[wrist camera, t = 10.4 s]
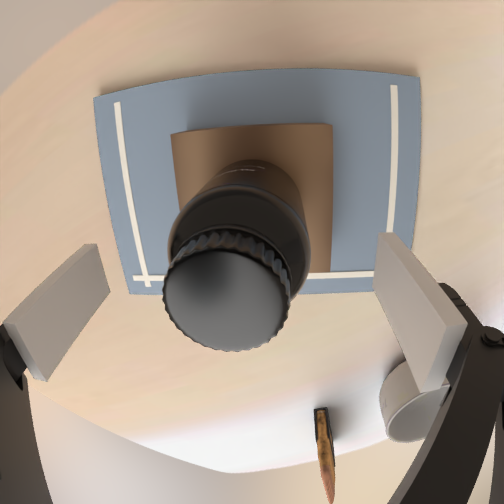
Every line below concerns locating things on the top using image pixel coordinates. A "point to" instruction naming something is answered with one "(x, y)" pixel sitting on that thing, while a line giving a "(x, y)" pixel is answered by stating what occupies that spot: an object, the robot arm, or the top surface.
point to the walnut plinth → (276, 152)
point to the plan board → (266, 112)
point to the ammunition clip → (325, 451)
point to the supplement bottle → (237, 257)
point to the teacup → (408, 405)
